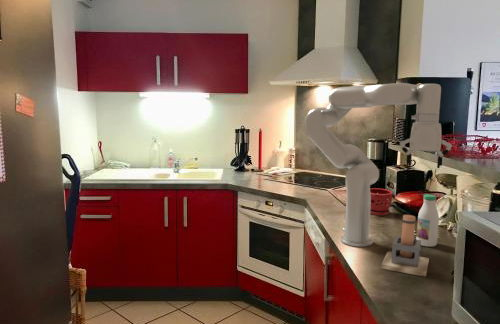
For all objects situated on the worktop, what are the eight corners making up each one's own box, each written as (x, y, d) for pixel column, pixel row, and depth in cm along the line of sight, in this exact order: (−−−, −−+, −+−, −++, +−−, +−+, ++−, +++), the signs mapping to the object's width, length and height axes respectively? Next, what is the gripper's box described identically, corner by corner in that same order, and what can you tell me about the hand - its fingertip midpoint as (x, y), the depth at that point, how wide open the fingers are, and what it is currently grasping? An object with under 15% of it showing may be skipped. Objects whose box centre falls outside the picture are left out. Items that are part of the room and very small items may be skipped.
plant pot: (359, 211, 210) (360, 189, 209) (378, 209, 216) (379, 187, 214) (376, 218, 199) (378, 194, 197) (396, 215, 204) (398, 192, 202)
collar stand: (381, 268, 137) (382, 244, 136) (387, 255, 149) (388, 233, 148) (425, 276, 131) (427, 251, 129) (428, 262, 143) (430, 239, 142)
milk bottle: (431, 240, 166) (434, 193, 163) (440, 247, 158) (444, 197, 155) (412, 240, 166) (416, 193, 163) (421, 247, 158) (424, 197, 155)
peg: (396, 259, 141) (400, 215, 139) (406, 258, 142) (410, 214, 140) (404, 264, 137) (408, 218, 135) (414, 262, 138) (418, 217, 136)
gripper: (400, 118, 143) (397, 166, 146) (454, 120, 136) (450, 170, 138) (402, 118, 150) (399, 163, 152) (454, 119, 142) (450, 167, 145)
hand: (423, 166), depth 145 cm, fingers open, 9 cm apart
